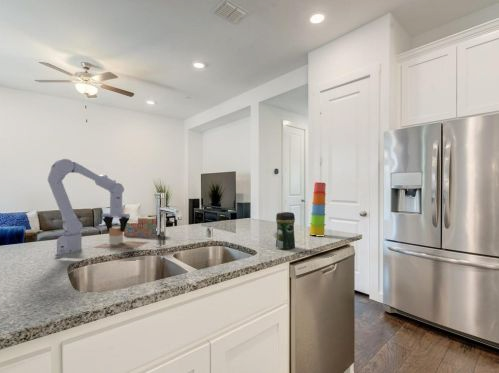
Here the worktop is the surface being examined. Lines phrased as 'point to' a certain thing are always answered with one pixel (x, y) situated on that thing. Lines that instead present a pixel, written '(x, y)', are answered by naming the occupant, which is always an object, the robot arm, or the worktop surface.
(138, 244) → the build board
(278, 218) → the coffee jar
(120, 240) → the cream brick
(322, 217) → the stacking cups
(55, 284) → the worktop surface
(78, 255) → the worktop surface
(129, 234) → the stack of blocks
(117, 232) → the terracotta brick
